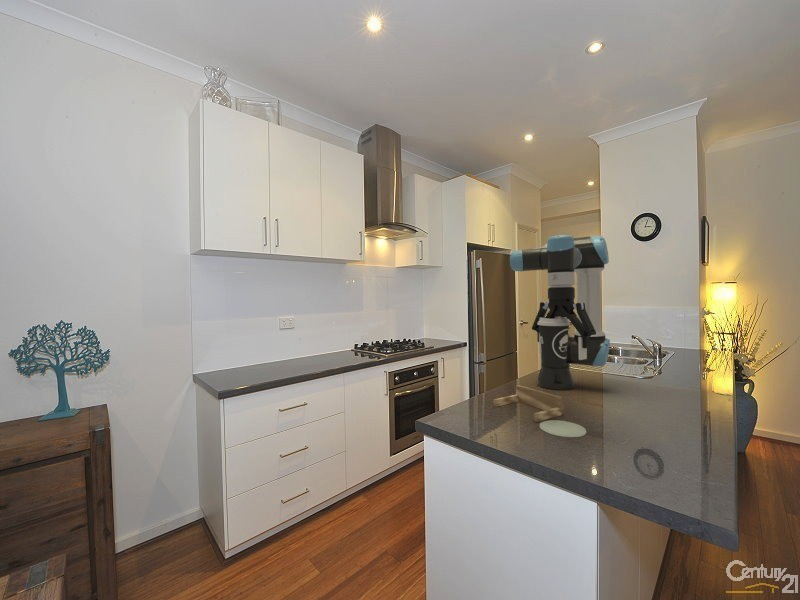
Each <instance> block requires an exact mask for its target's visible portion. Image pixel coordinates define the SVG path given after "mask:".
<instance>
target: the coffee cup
mask: <svg viewBox="0 0 800 600" xmlns="http://www.w3.org/2000/svg"><path fill="white" fill-rule="evenodd" d="M545 317H546V316H545ZM545 317H541V318H540V320H539V321H538V323H537V325H539V331H540V340H541V350H542V359H543V365H544V366H547V367H554V368H561V367H565V366H566V354H567V342H568V334H569V328H570V326H571V322H570V320H569V319H567V318H566V317H555V318H553V319H547V318H545Z"/></svg>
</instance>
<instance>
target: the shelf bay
mask: <svg viewBox="0 0 800 600" xmlns="http://www.w3.org/2000/svg"><path fill="white" fill-rule="evenodd" d="M492 401H493V403H492V406H493V407H495V408H497V407H502V406H507V405H511V404H515V403H521V404H525V405H527V406H530V407H534V408H536V409H540V410H542V411H538V412H534V413H533V422H535V423H539V422H544V421H547V420H548V419H549V420H550V419H553V418H556V417H559V416H562V415H564V397H563V396H560V395H556V394H553V393H549V392H545V391H543V390H542V391H541V390H539V389H534V388H531V387H527V386H523V385H520V384H516V385H515V394H512V395H506V396H503V397H502V396H501V397H499V398H494V399H492Z"/></svg>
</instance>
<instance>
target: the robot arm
mask: <svg viewBox="0 0 800 600" xmlns="http://www.w3.org/2000/svg"><path fill="white" fill-rule="evenodd" d="M609 262H610V260H609V250H608V245H607V242H606V240H605V237H603V236H602V235H591V236H582V237H574V236H573V235H570V234H563V235H562V234H560V235H553V236H550V237H548V239H547V242H546V244H544V245H542V246H540V247H533V248H528V249H517V250H513V251H511V253H510V256H509V265H510V269H511V270H512V271H514V272H521V273H522V272H530V271H546V270H547V286H548V287H547V300H548V302H547V301H541V302H539V309H538V312H537V314H536V317H535V319H534V321H533V323H532V326H531V330H532V331H535V332H536V333H537V342H538V343H539V344H538V350H539V354H540V359H541V360H540V369H539V370H540V371H539V373H538V376H537V378H536V379H537V380H536V384H537V386H538V387H541V388H544V389H549V390H557V391H559V390H560V391H561V390H562V391H564V390H565V391H566V390H567V391H568V390H572V389H574V388H575V381H574V378H573V374H572V372H571V369H570V368H571V367H570V365H581V366H588V367H589V366H592V367H604V366H605V365H606V364H607V362H608V358H609V352H610V345H611V344H610V343H611V340H610V339H609V338H608V337H607V338H606V333H605V332H604V331H603V330H602V308H601V307H602V305H601V302H602V300H601V295H602V294H601V293H602V292H601V291H602V290H601V273H602V272H603V271H604V270H605V265H608V264H609ZM575 274H576V277H575ZM575 278H576V280H575ZM575 281H576V282H575ZM576 284H577V285H576ZM574 285H576V286H577V287H576V289H575V287H574ZM576 290H577V291H576ZM575 292H577V295H576V293H575ZM576 296H577V303H575V298H576ZM548 309H549V311H548ZM575 311H576V312H575ZM576 313H577V314H576ZM541 317H545V318H547V319H553V318H555V317H565V318H567V319H568V321H569V322H570V324H572V326H573V327H574V329H576V331H575V332H574V334H573V335H574V336H571V335H570V334H569V333H568V342H567V354H566V366H565V367H561V368H554V367H547V366H544V365H543V359H542V350H541V340H540V331H539V325H537V323H538V321H539V320H540V318H541Z"/></svg>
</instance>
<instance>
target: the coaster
mask: <svg viewBox="0 0 800 600" xmlns="http://www.w3.org/2000/svg"><path fill="white" fill-rule="evenodd" d="M539 428H540V430H542V431H543V432H544V433H547V434H550V435H552V436H557V437H562V438H579V437H583V436H585V435H587V429H586V428H585V427H583V426H581V425H580V424H578V423H574V422H570V421H565V420H556V419H555V420H554V419H553V420H552V419H551V420H550V419H549V420H543V421H540V423H539Z"/></svg>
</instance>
